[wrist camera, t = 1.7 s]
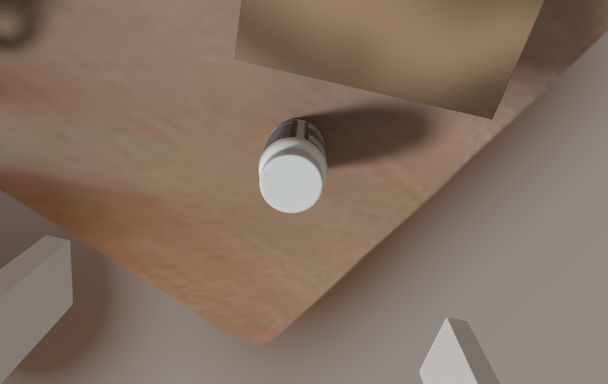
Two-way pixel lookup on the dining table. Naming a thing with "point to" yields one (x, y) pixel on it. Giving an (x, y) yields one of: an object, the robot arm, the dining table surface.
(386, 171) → the dining table surface
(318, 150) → the pill bottle
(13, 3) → the dining table surface
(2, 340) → the robot arm
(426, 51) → the small wooden bench
